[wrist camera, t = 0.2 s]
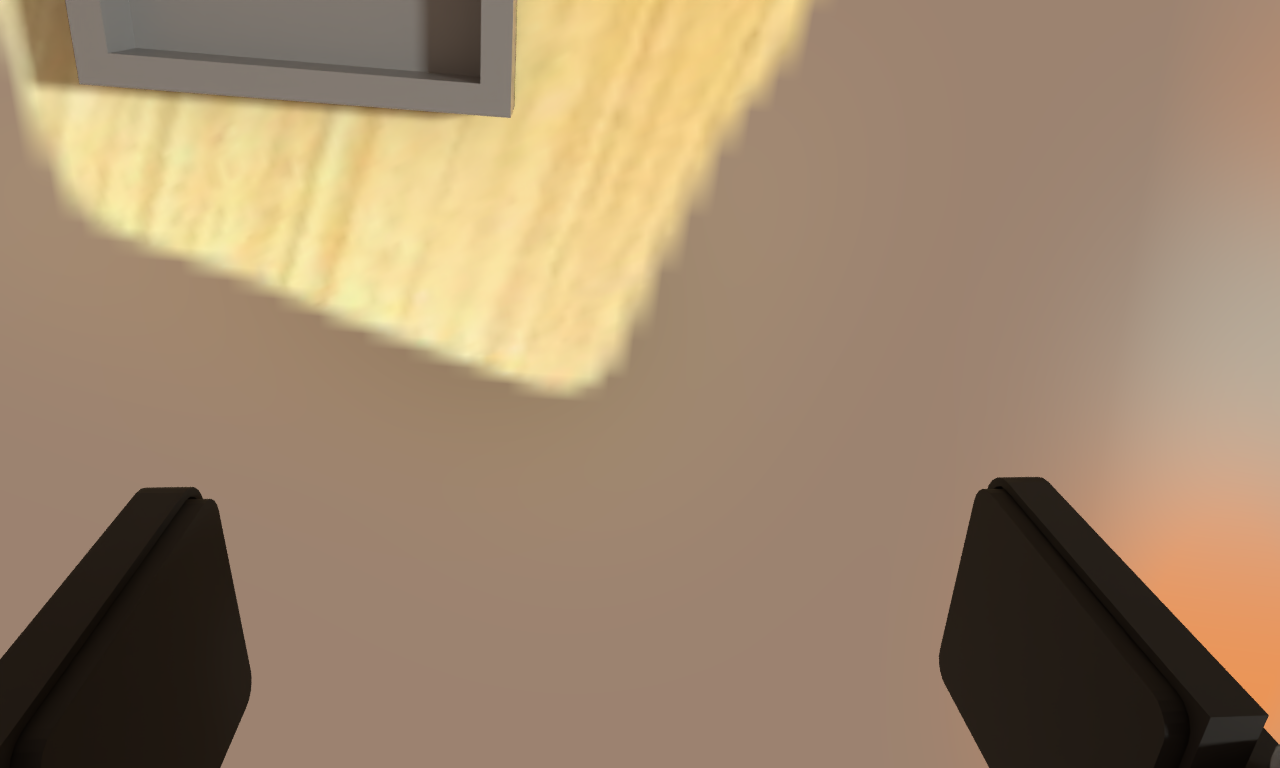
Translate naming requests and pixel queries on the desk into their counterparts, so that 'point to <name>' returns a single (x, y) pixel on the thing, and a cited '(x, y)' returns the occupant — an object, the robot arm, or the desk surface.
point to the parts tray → (306, 50)
